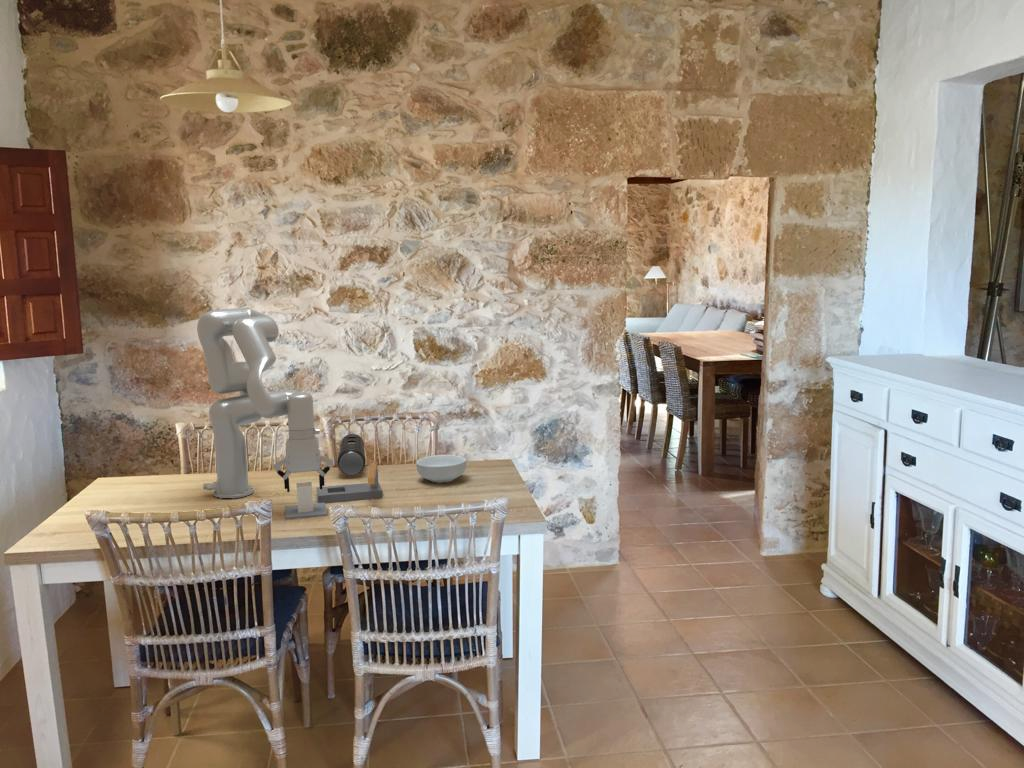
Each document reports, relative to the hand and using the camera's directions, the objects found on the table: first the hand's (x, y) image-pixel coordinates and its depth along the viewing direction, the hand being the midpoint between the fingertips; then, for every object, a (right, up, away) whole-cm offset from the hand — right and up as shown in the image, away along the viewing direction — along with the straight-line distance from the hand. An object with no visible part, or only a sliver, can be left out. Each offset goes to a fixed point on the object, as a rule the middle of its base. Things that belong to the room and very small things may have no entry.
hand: (304, 489), depth 256 cm
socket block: (+10, -4, +16) cm, 20 cm away
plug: (0, -6, +1) cm, 6 cm away
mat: (0, -7, +1) cm, 7 cm away
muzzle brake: (+5, +1, +51) cm, 51 cm away
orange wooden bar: (+19, +3, +8) cm, 21 cm away
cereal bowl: (+39, -1, +34) cm, 51 cm away
